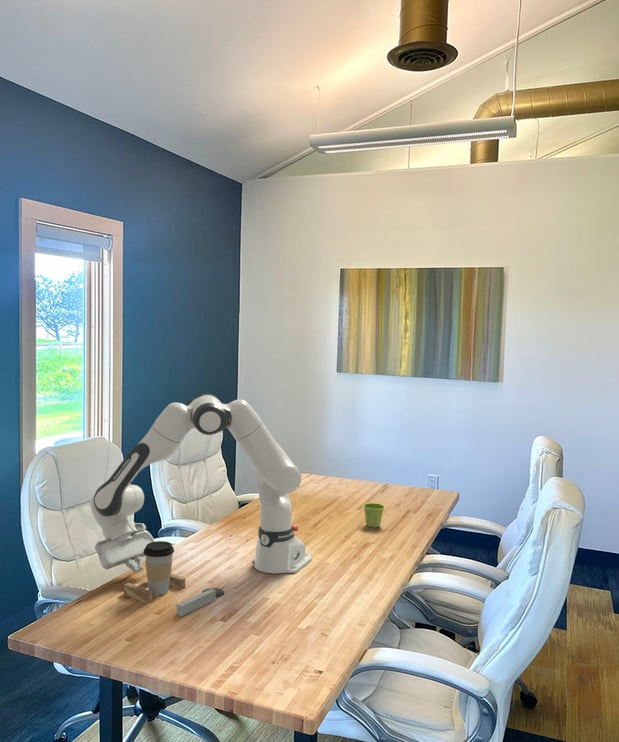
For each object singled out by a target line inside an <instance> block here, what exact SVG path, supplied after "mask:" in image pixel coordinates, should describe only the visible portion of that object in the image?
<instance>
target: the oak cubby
mask: <svg viewBox="0 0 619 742" xmlns="http://www.w3.org/2000/svg"><path fill="white" fill-rule="evenodd" d="M169 584H170V585H169V586H171V585H172V587H174V586H175V588H176V589H179V588H180V589H179V590H183V589H185V588H186V578H185V577H183V576H180V575H178V574H175V573H172V572H171V576H170V580H169ZM147 587H148V579H147V580H143V581H141V582H139V583H136V584H133V583H130V582H127V583H124V584H123V594H124V595H125V594H126V596H128V597H131V598H133V599H135V600H137V601H139V602H142V603H144V604H147V605H148V604H150V603H152V602H153V595H152V592H151V591H149V589H145V588H147Z"/></svg>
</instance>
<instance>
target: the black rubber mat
mask: <svg viewBox="0 0 619 742" xmlns="http://www.w3.org/2000/svg"><path fill="white" fill-rule="evenodd" d="M210 589H213V590H216V598H220V597H222V596H224V594H225V591H224V590H223V589H221V588H218V587H217V588H216V587H215V588H214V587H213V588H212V587H211V588H206V589H204V590H202V592H201V593H203V592H205V591H207V590H210Z"/></svg>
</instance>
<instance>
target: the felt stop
mask: <svg viewBox="0 0 619 742" xmlns="http://www.w3.org/2000/svg"><path fill="white" fill-rule="evenodd" d="M209 589H210V588H209ZM214 601H216V590H213V589H210V590H207V591H205V592H203V593H202V592H201V593H198V594H197V595H195V596H193V597H190V598H188V599H185V600H184V601H180V602H179V603H177V604H176V615H177V614H178V616H180V617H183V616H186V615H187V613H188V614H190V613H191V612H194V611H196V610H198V609H200V608H201V607H204V606H206V605H208V604H210V603H212V602H214Z"/></svg>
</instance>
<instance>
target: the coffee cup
mask: <svg viewBox="0 0 619 742" xmlns="http://www.w3.org/2000/svg"><path fill="white" fill-rule="evenodd" d="M174 552H175V548H174V546H173V544H172V543H171V542H169V541H163V540H160V541H159V540H158V541H156V540H155V542H151V543H149V544H147V545H146V548H145V549H144V552H143V553H144V554H145V555H146V556H145V569H146V578H147V580H148V586H147V587H148V591H151V592H152V596H154V595H157V597H159V595H160V596H164V595H166V594H167V593H168V592H169V587H170V585H169V580H170V576H171V573H172V566H173V554H174Z"/></svg>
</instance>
